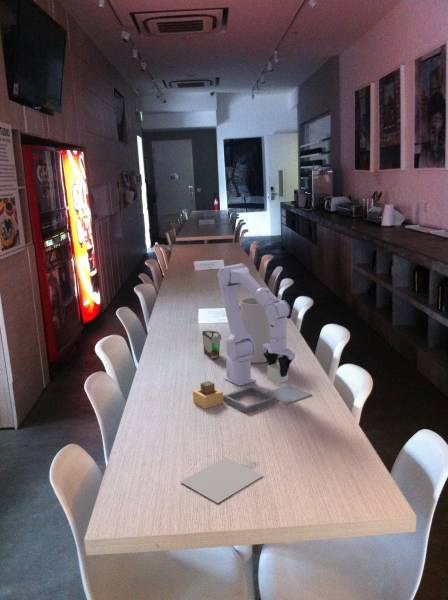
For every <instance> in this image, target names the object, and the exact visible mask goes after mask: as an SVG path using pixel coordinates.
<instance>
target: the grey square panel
mask: <svg viewBox="0 0 448 600" xmlns="http://www.w3.org/2000/svg"><path fill="white" fill-rule="evenodd" d="M263 476H264V474H262V473H259V472H257V471H255V470H252V469H251V468H249V467H247V466H246V465H245V466H244V465H243V464H241V463H239V462H236V461H234V460H232V459H230V458H228V457H224V458H222V459H219V460H218V461H216V462H214V463H211V465H208V466H206V467H205V468H203V469H201V470H199V471H197V472H195V473H194V474H192V475H190V476H188V477H186V478H185V479H182V480H180V483H182V484H183V485H185V486H186V487H189V488H190V489H192V490H193V491H195V492H197V493H199V494H200V495H202V496H205V497H206V498H208V499H209V500H211V501H213V502H214V503H216V504H218V503H221V502H222V501H224V500H226V499H227V498H229V497H230V496H232V495H234V494H235V493H237V492H238V491H240V490H242V489H243V488H245V487H247V486H248V485H250V484H252V483H253V482H255V481H257V480H258V479H260V478H262V477H263Z"/></svg>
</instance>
